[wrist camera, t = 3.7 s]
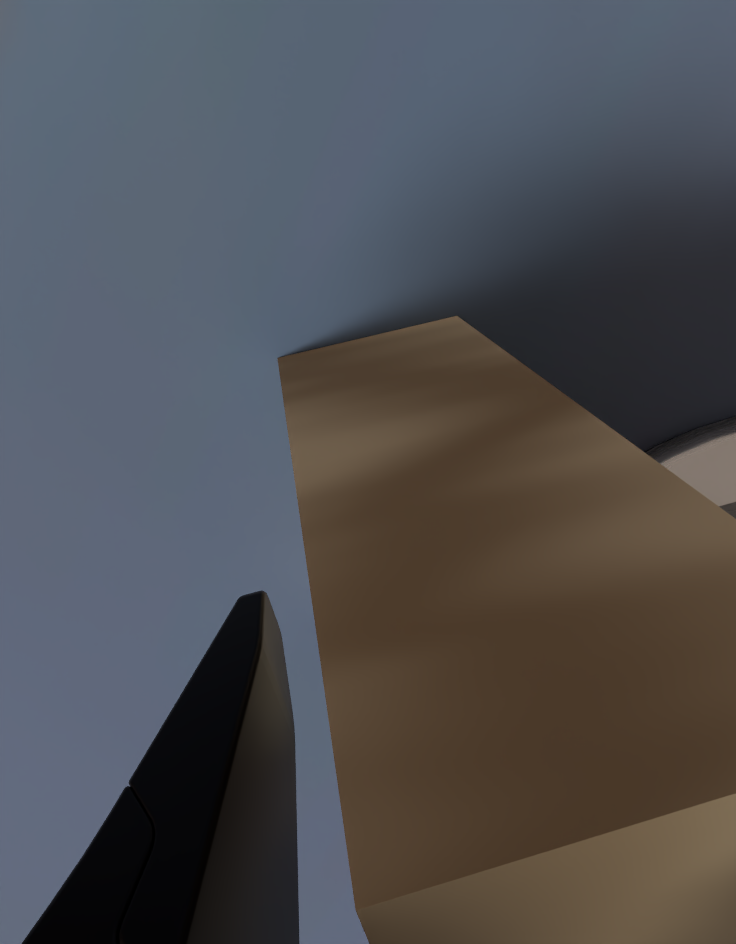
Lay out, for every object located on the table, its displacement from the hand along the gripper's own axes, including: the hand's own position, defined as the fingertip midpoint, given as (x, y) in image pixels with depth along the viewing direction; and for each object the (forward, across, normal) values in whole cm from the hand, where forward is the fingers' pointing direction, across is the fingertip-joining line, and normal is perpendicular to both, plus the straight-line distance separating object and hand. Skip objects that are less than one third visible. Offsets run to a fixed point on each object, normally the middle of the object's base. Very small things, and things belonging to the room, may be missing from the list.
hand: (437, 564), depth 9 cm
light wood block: (+3, 0, 0) cm, 3 cm away
